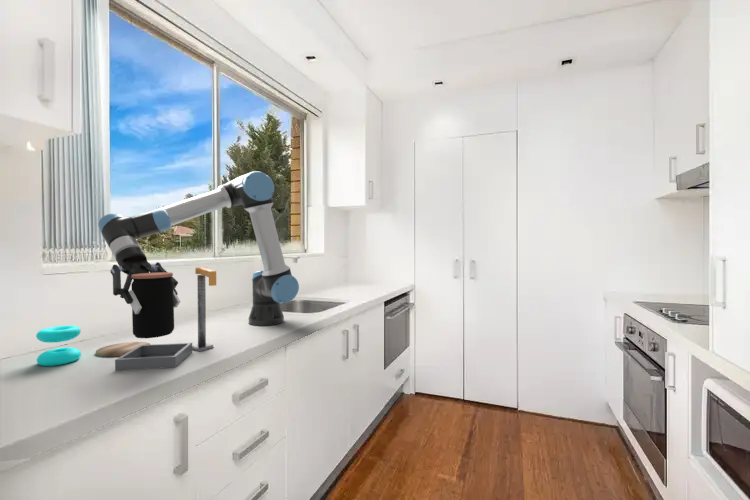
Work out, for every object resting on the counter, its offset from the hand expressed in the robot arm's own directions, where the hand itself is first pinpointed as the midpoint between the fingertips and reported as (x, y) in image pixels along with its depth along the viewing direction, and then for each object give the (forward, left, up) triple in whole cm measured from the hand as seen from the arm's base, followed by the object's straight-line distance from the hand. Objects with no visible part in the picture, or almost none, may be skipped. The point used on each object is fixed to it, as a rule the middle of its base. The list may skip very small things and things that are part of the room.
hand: (158, 307), depth 110 cm
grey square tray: (+2, -2, -16) cm, 16 cm away
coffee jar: (+2, -2, -8) cm, 9 cm away
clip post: (-8, -14, -16) cm, 23 cm away
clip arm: (-12, -5, +7) cm, 15 cm away
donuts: (+30, -6, -16) cm, 34 cm away
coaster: (+17, -16, -16) cm, 28 cm away
